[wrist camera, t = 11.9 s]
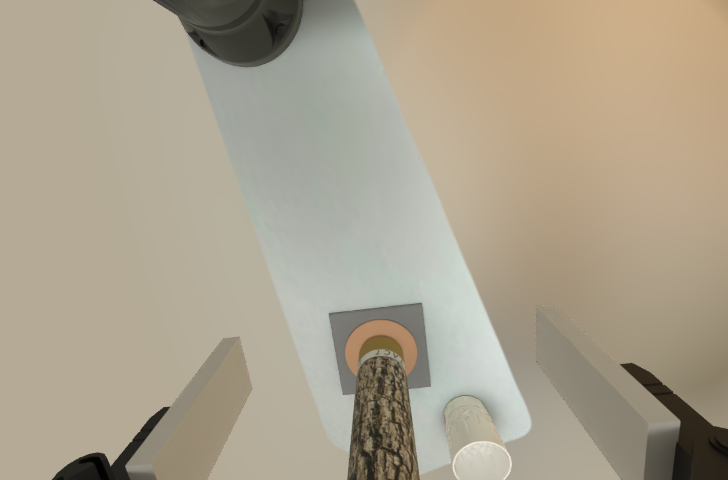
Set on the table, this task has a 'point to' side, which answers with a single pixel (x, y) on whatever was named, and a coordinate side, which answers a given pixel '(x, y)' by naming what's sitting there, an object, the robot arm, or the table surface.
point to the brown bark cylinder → (382, 416)
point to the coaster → (385, 322)
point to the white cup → (475, 441)
